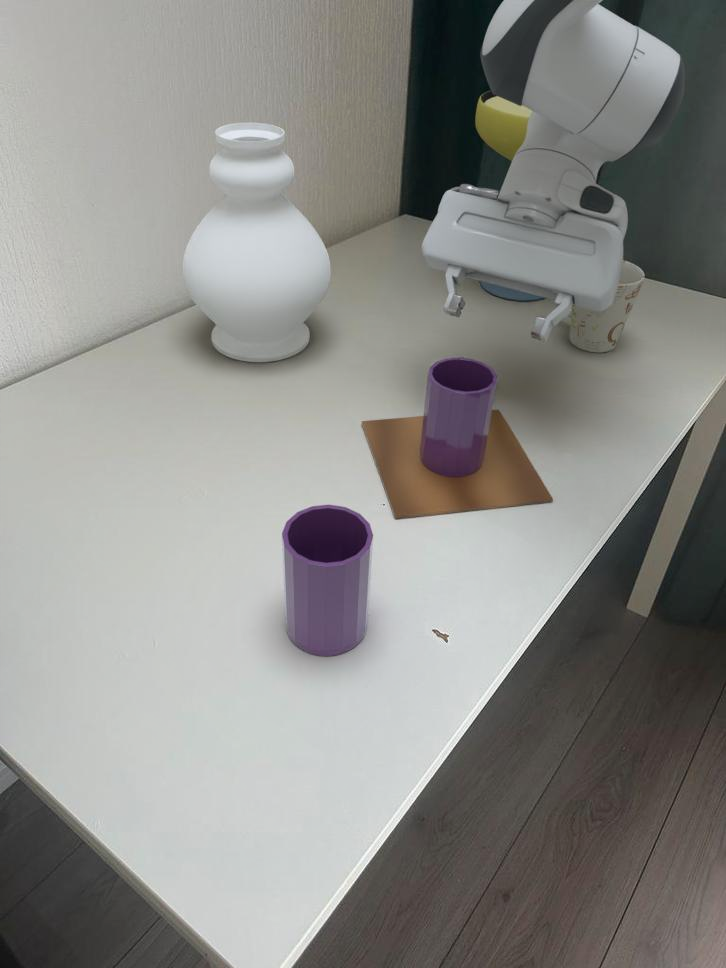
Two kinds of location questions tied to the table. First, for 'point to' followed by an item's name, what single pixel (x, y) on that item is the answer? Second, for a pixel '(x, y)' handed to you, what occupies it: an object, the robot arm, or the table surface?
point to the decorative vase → (255, 251)
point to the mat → (429, 493)
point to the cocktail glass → (505, 135)
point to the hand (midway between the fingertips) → (493, 325)
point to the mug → (606, 315)
